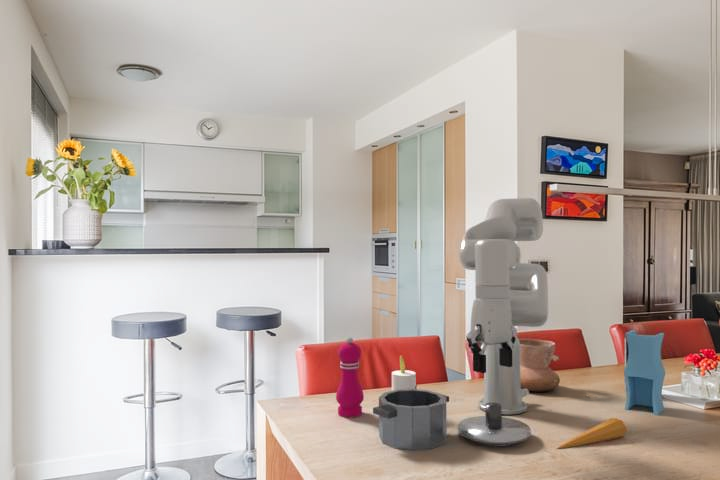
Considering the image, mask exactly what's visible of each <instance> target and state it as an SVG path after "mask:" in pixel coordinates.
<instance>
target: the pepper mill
mask: <svg viewBox="0 0 720 480" xmlns="http://www.w3.org/2000/svg"><path fill="white" fill-rule="evenodd" d="M353 341H354V340H353V338H352V337H351V336H348V337H347V338H346V339H345V343H343V344H341V345H340V346H339V349H338V351H337V352H338V353H337V355H338V359H339V360H340V362H339V364H340V366H339V367H340V369H341V381H340V383H339V385H338V388H337V390H336V392H335V393H336V394H335V400H336V402H337V403H338V407H337V414H338V415H339V416H340V417H343V418H357V417H360V416H361V415H362V414H363V407H362V406H361V404H362V403H363V401H364V397H365V396H364V392H363V388H362V386H361V384H360V381H359V378H358V368H359V367H360V361H359V359H360V358H361V355H362V352H361V351H362V350H361V347H360V346H359V345H358V344H356V343H354V342H353Z"/></svg>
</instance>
